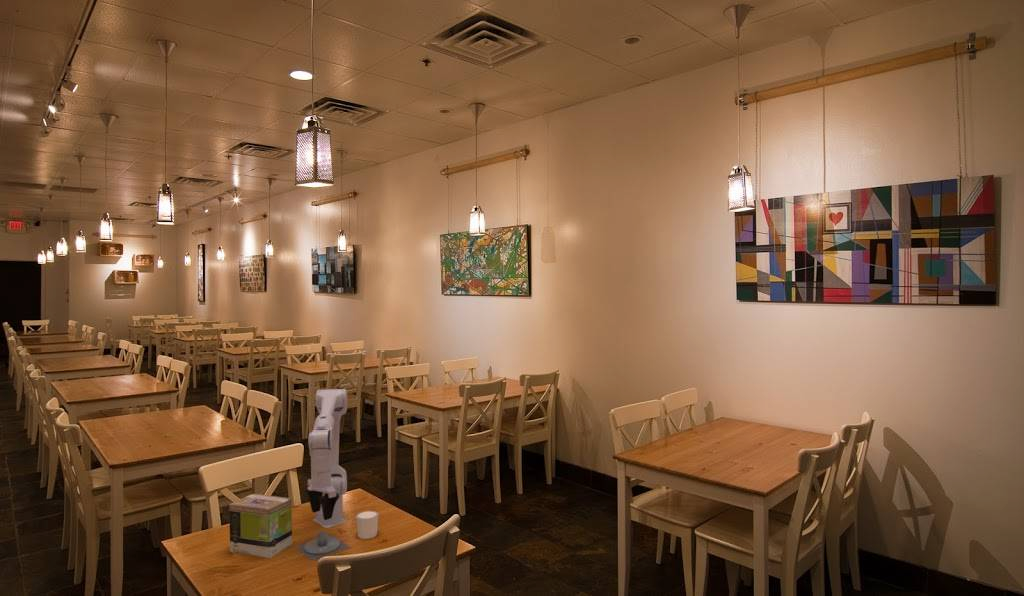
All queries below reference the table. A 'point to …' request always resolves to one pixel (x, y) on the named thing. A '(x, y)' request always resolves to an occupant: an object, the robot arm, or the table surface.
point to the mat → (314, 557)
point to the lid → (322, 544)
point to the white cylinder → (367, 524)
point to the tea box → (260, 525)
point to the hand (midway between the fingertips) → (321, 515)
